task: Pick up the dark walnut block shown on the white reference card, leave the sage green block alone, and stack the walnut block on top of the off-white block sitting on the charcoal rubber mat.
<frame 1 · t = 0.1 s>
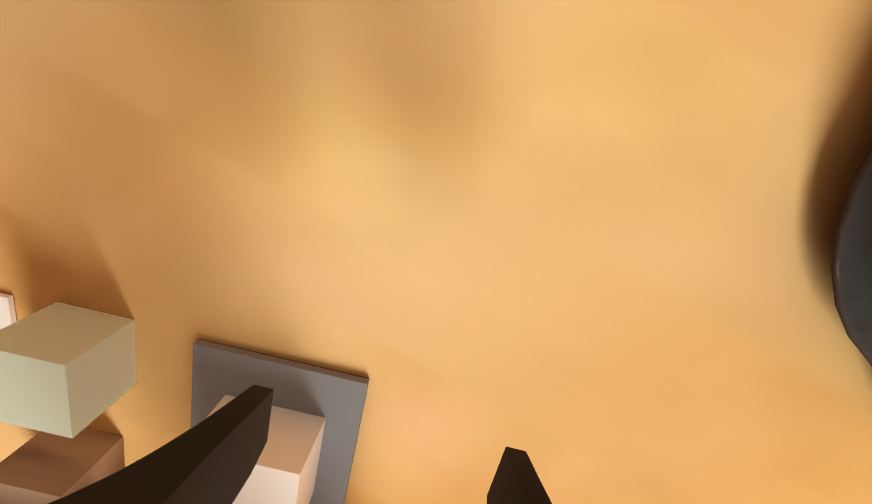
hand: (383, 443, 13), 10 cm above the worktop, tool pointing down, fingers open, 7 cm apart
sage green block: (99, 343, 25), on the worktop
off-white block: (271, 445, 26), resting on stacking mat
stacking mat: (273, 451, 26), on the worktop
walnut block: (92, 454, 28), on the worktop
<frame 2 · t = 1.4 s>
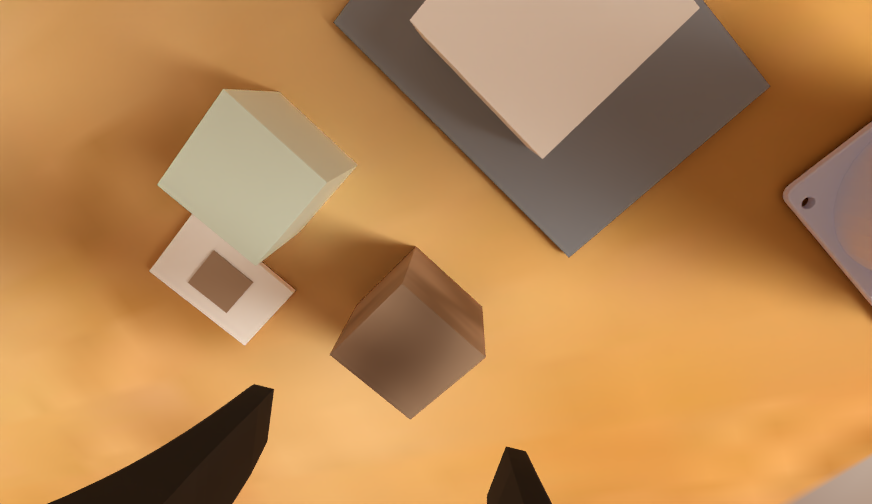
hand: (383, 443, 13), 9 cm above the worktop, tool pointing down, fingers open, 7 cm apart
reference card: (224, 279, 21), on the worktop
sage green block: (290, 165, 19), on the worktop
off-white block: (532, 34, 16), resting on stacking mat
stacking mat: (547, 55, 17), on the worktop
walnut block: (418, 305, 21), on the worktop
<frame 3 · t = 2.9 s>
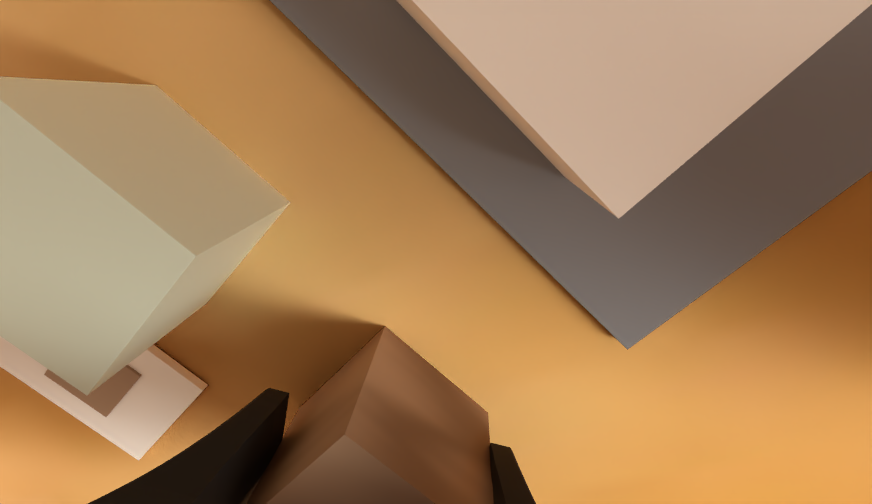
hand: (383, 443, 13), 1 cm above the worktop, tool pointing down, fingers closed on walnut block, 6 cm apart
reference card: (101, 368, 14), on the worktop
sage green block: (185, 203, 12), on the worktop
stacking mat: (603, 21, 10), on the worktop
walnut block: (391, 410, 14), on the worktop, touching gripper
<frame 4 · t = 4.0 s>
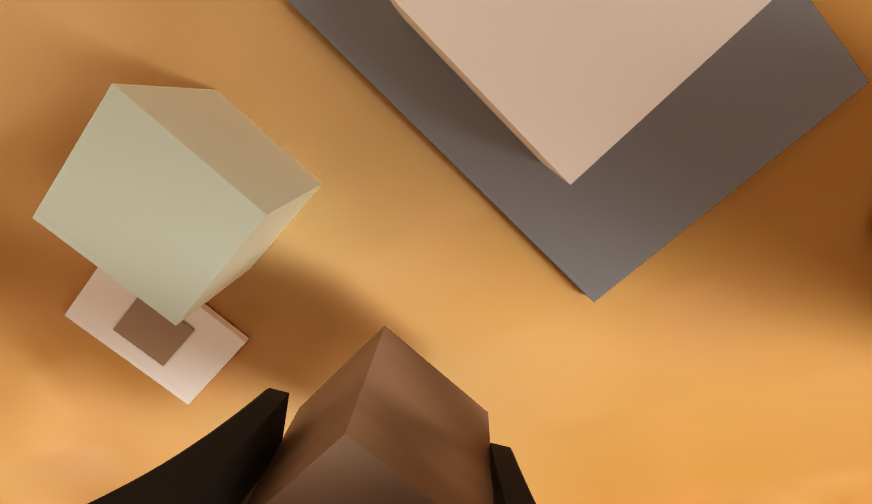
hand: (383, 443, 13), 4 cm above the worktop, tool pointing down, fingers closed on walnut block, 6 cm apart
reference card: (159, 325, 17), on the worktop
sage green block: (236, 184, 15), on the worktop
off-white block: (549, 12, 12), resting on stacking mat
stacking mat: (568, 41, 13), on the worktop
walnut block: (392, 410, 14), point 3 cm above the worktop, touching gripper
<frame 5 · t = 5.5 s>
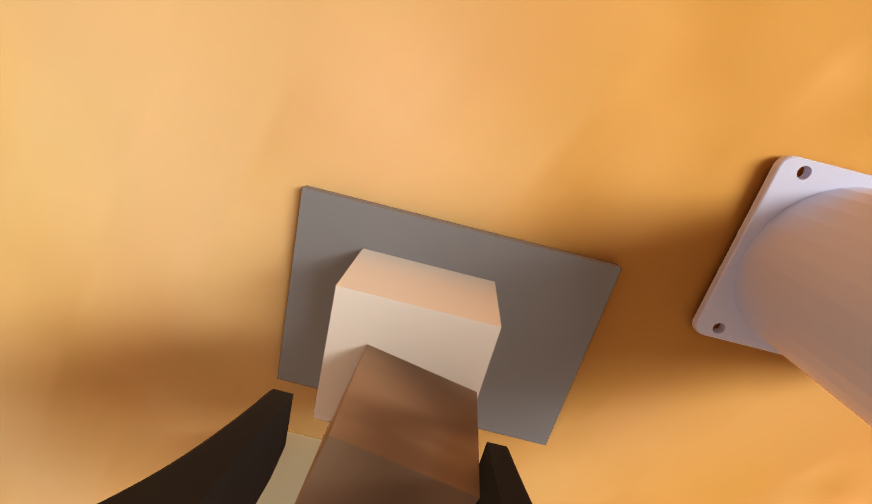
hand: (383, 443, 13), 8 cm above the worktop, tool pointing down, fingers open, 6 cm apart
sage green block: (305, 465, 24), on the worktop
off-white block: (414, 323, 20), resting on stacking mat, touching walnut block
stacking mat: (435, 323, 20), on the worktop
walnut block: (399, 411, 16), point 4 cm above the worktop, touching gripper, off-white block
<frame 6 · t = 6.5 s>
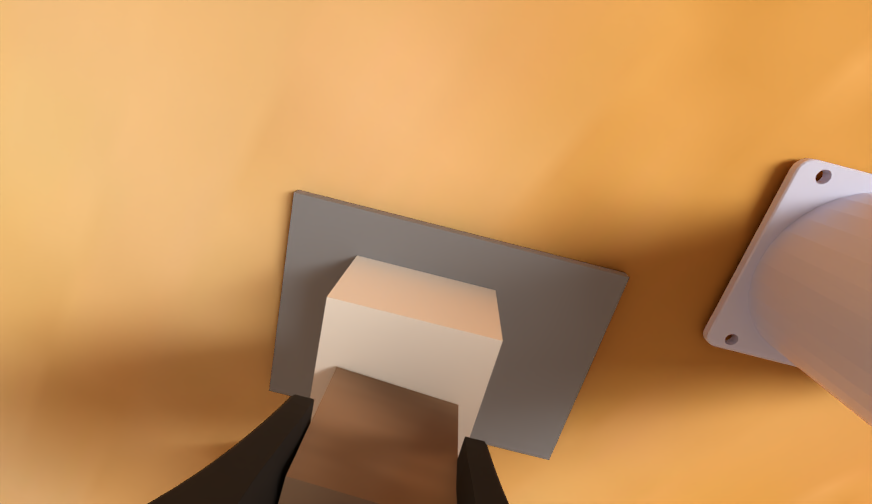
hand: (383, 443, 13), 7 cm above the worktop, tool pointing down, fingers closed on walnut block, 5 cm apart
off-white block: (411, 333, 19), resting on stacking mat, touching walnut block
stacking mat: (434, 333, 19), on the worktop
walnut block: (380, 432, 16), point 5 cm above the worktop, touching gripper, off-white block
when the fingers open (7 cm above the worktop, at t = 6.5 s): walnut block stays where it is, resting on off-white block.
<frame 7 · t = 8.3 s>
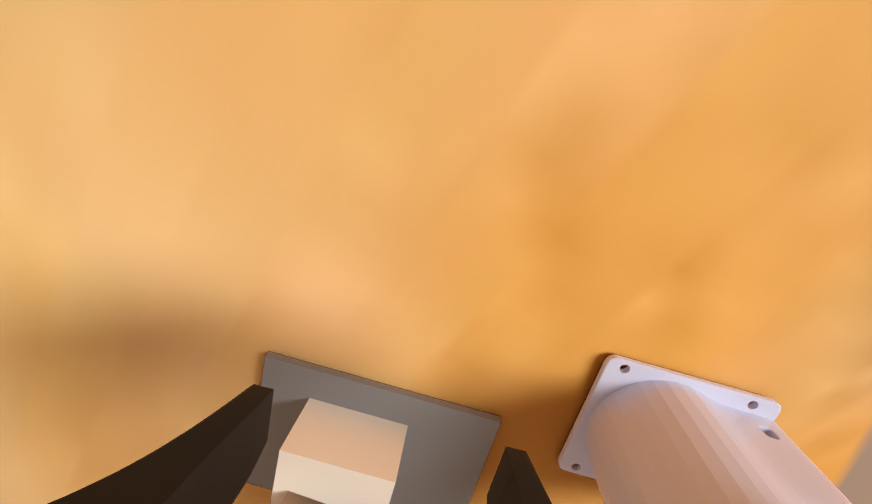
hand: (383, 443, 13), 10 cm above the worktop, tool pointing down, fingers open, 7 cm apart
off-white block: (349, 450, 26), resting on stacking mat, touching walnut block
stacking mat: (367, 448, 26), on the worktop
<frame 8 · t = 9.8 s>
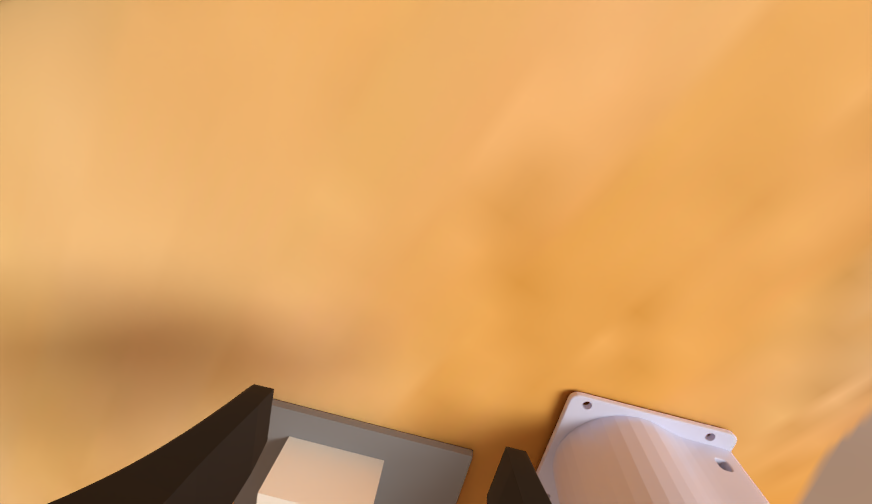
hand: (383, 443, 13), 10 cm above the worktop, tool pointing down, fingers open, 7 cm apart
off-white block: (329, 484, 27), resting on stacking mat, touching walnut block
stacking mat: (347, 481, 27), on the worktop
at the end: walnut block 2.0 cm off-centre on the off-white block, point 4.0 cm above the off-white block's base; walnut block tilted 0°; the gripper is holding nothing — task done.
